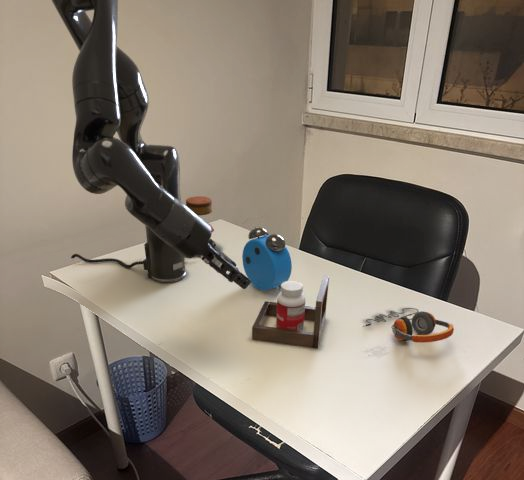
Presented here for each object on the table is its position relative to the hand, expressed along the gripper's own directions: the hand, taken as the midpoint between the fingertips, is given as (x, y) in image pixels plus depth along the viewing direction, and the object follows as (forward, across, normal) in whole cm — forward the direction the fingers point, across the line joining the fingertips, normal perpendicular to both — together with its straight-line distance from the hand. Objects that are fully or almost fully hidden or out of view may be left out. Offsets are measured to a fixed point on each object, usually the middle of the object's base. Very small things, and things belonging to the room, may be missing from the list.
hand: (240, 276), depth 101 cm
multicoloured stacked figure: (+15, -53, -6) cm, 55 cm away
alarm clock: (+21, -22, 0) cm, 31 cm away
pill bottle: (+19, 0, -2) cm, 19 cm away
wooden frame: (+19, 0, -2) cm, 19 cm away
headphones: (+36, +11, +15) cm, 40 cm away
